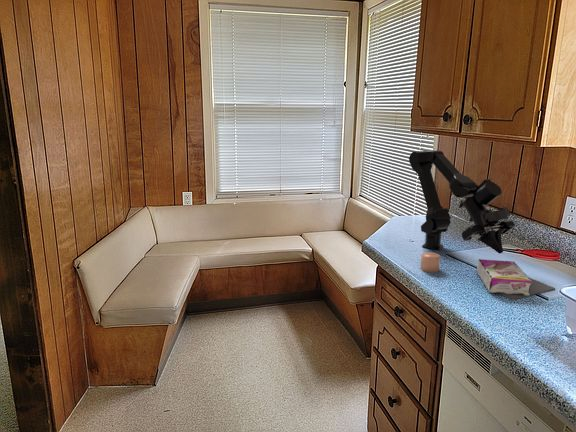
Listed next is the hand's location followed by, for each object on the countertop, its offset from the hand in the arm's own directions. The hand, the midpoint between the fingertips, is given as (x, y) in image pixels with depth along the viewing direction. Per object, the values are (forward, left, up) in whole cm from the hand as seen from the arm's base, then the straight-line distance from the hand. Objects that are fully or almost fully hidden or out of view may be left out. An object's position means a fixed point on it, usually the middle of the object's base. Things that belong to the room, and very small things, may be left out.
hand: (501, 252), depth 135 cm
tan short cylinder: (+8, -20, -8) cm, 23 cm away
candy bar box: (+1, -1, -5) cm, 5 cm away
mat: (+8, +7, -8) cm, 13 cm away
